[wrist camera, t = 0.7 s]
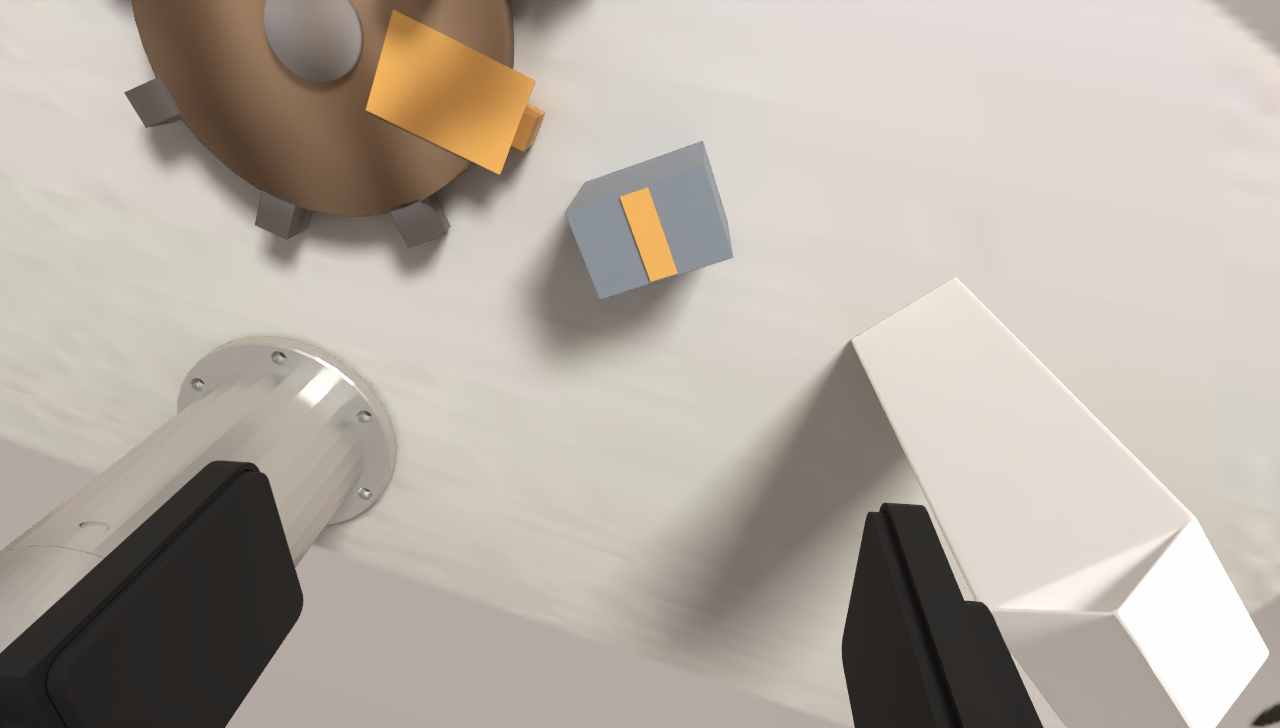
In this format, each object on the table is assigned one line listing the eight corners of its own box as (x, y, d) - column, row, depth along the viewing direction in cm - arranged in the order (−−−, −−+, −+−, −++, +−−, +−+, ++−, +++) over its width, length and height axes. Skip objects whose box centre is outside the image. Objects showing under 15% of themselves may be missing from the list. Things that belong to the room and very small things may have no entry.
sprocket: (275, 288, 38) (225, 321, 33) (25, -126, 30) (-80, -148, 26) (617, 167, 33) (606, 188, 29) (430, -351, 26) (381, -419, 22)
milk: (954, 274, 35) (1296, 603, 15) (1008, 363, 37) (1375, 758, 17) (846, 340, 37) (1026, 708, 17) (903, 421, 39) (1124, 837, 19)
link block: (613, 256, 36) (599, 300, 30) (585, 182, 34) (564, 213, 29) (727, 220, 35) (733, 258, 29) (702, 140, 33) (704, 165, 28)
